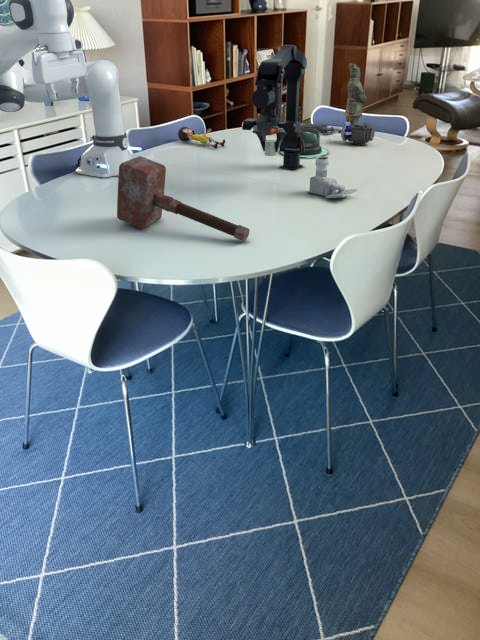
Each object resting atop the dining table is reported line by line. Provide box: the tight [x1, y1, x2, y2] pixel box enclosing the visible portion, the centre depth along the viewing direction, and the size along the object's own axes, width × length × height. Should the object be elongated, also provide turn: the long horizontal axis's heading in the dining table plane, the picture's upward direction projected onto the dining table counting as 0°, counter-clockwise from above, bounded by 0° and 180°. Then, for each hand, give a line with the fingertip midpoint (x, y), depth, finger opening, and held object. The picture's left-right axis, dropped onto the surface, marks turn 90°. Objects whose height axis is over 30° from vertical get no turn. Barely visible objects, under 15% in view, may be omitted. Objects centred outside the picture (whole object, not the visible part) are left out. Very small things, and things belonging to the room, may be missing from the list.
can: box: [264, 139, 278, 157], centre depth 189 cm, size 4×4×5 cm
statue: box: [344, 62, 368, 127], centre depth 262 cm, size 11×9×30 cm
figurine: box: [177, 126, 226, 150], centre depth 251 cm, size 13×8×25 cm
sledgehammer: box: [116, 155, 250, 242], centre depth 156 cm, size 17×10×40 cm
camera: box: [308, 155, 359, 199], centre depth 182 cm, size 9×12×15 cm
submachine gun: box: [266, 121, 335, 136], centre depth 265 cm, size 32×3×25 cm
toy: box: [338, 121, 376, 146], centre depth 244 cm, size 9×9×15 cm
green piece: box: [280, 128, 328, 159], centre depth 234 cm, size 15×19×20 cm
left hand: (64, 96), depth 163 cm, fingers open, 8 cm apart
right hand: (270, 151), depth 190 cm, fingers closed on can, 4 cm apart
